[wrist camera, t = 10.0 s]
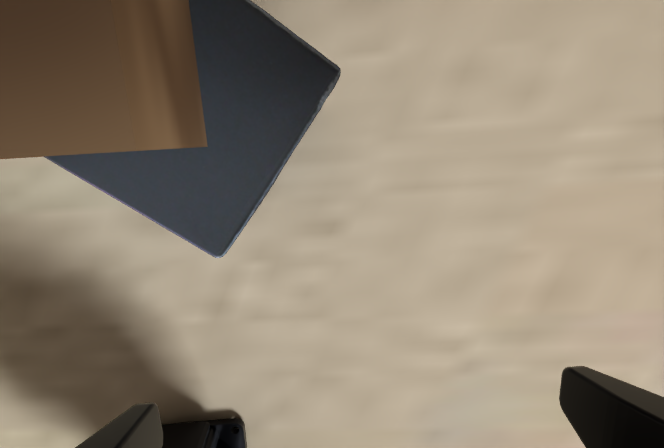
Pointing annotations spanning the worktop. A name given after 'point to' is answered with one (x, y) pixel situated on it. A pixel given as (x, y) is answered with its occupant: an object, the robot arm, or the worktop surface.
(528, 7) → the worktop surface
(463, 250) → the worktop surface
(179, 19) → the walnut block
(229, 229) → the small box
